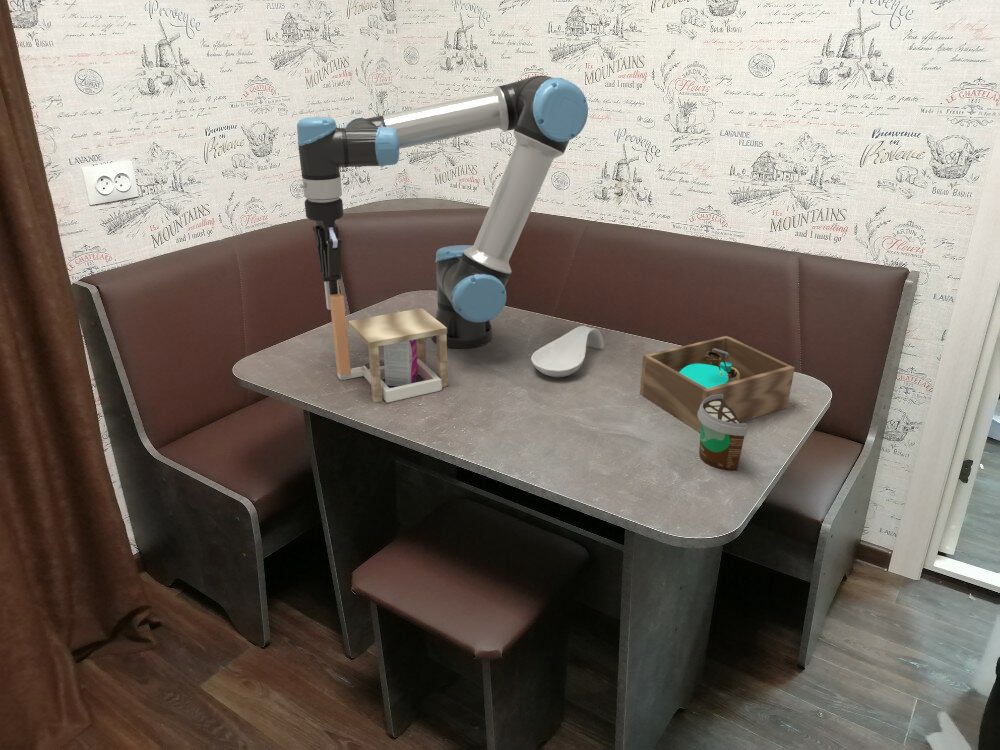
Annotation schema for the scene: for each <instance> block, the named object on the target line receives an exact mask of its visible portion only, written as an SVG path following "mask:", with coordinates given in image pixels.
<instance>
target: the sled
mask: <svg viewBox="0 0 1000 750" xmlns="http://www.w3.org/2000/svg"><path fill="white" fill-rule="evenodd" d="M339 293H340V294H333V295H329V297H330V306H331V310H330V315H331V324H332V334H333V342H334V343H333V344H334V354H335V356H334V357H335V363H336V364H335V365H336V373H337V378H339V380H340V381H345V380H350V379H354V378H359V377H364V379H366V380H367V382H368V383H369V384H370V385H371V376H370V369H368V368H367V367H366V366H365V365H362V366H358V367H353V368H351V360H350V350H349V348H350V347H349V339H348V338H349V336H348V327H347V326H348V325H347V316H346V306H345V296H344V295H343V294H342V293H341V292H339ZM417 375H420V377H422V379H423V380H422V381H417V382H416V381H415V383H412V384H407V385H403V386H398V387H394V388H389V387H388V386H387V385H386V384H385V381H384V380H385V366H381V367H380V376H381V390H382V400H384V401H385V402H386V403H391V402H396V401H401V400H404V399H405V400H406V399H409V398H413V397H417V396H422V395H427V394H430V393H435V392H441V391H442V390H443V387H442V383H441V379H440V378H439V377H438V374H436V373H435V372H434V371H433V370H432V369H430V367H428V366H427V364H426V365H425V364H424V363H423V362H422V361H421V360H420V359H417Z"/></svg>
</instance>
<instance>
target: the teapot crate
mask: <svg viewBox="0 0 1000 750" xmlns="http://www.w3.org/2000/svg"><path fill="white" fill-rule="evenodd" d="M713 348H716V349H719V350H722V351H725V352H728V353H729V358H728V359H726V358H725V357H726V355H724V354H721V353H719V354H720V355H721V356H722V359H721V360H723V361H725V362H728V363H731V364H732V367H733V368H735V369H737V370H738V372H739V373H740V380H736V381H733V382H729V383H725V384H722V385H718V386H714V387H711V388H706V387H704V386H702V385H700V384H698V383H697V382H695V381H693V380H691V379H690V378H688V377H686V376H684V375H683V374H681V373H679V372H680V371H681V370H682V369H683V368H684V367H686V366H688V365H691V364H707V365H710V362H711V361H709V360H707V359H706V358H705V354H706V352H707V351H712V349H713ZM717 353H718V352H717ZM709 356H710V357H711V354H709ZM714 359H718V357H716V356H714ZM723 361H722V362H723ZM720 363H721V362H720ZM713 366H717V367H719V366H718V363H713ZM795 368H796V367H795V366H792V365H790V364H788V363H786V362H784V361H782V360H780V359H777V358H776V357H773V356H771V355H769V354H767V353H765V352H762V351H760V350H759V349H756V348H754V347H752V346H750V345H747V344H745V343H743V342H741V341H739V340H737V339H735V338H733V337H731V336H729V335H723V336H719V337H716V338H711V339H707V340H702V341H699V342H695V343H691V344H687V345H682V346H677V347H673V348H669V349H664V350H661V351H657V352H652V353H647V354H644V355H642V363H641V376H640V377H641V378H640V386H639V387H640V389H639V396H641V397H643V398H644V399H646V400H648V401H649V402H651V403H652V404H654V405H656V406H657V407H659V408H661V410H663V411H665V412H667V413H668V414H670V415H672V416H673V417H675V418H676V419H677V420H679V421H680V422H682V423H684V424H685V425H687V426H689V427H690V428H692V429H693V430H695V431H696V432H698V433H699V434H700V426H701V421H700V420H699V419H698V416H697V414H698V410H699V408H700V405H701V404H702V403H703V401H704V400H705V399H706V398H708V397H710V396H713V395H718V394H723V400H724V402H725V403H726V404H727V406H728V407H730V408H731V409H732V410H733V411H734V413H735V414H736V416H737V418H738V420H739V421H740V422H741V423H742V422H744V421H748V420H750V419H753V418H757V417H761V416H764V415H766V414H770V413H773V412H777V411H779V410H783V409H787V408H788V406H789V401H790V400H789V399H790V394H791V390H792V385H793V384H792V383H793V381H794V380H793V379H794V374H795Z"/></svg>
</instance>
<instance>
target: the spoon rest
mask: <svg viewBox="0 0 1000 750" xmlns="http://www.w3.org/2000/svg"><path fill="white" fill-rule="evenodd" d="M587 346H588V347H590V348H593V349H597V350H603V349H604V348H605V343H604V337H603V335H602V333H601V332H600V330H599V329H598V328H594V327H588V326H586V325H579V326H577V327H575V328H573V329H572V330H570V331H569V332H567V333H565V334H563V335H562V336H560V337H559V338H557V339H555V340H553V341H551V342H549V343H547V344H545V345H543V346H541V347H540V348H538V349H536V351H534V352H533V353H532V355H531V357H530V359H531V364H532V365H533V367H534V368H535V369H536V370H537V371H539V372H540V373H542V374H543V375H545V376H548V377H553V378H563V377H567V376H570V375H572V374H574V373H575V372H577V371H578V370H579V369H580V368H581V366H582V365H583V362H584V361H585V357H586V353H587V352H586V351H587Z"/></svg>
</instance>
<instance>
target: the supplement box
mask: <svg viewBox="0 0 1000 750" xmlns="http://www.w3.org/2000/svg"><path fill="white" fill-rule="evenodd" d="M383 362H384V365H385V379H384V383H385V384H386V385H387V386H388V387H389V388H394V387H398V386H403V385H407V384H412V383H416V381H418V373H417V342H416V339H415V340H409V341H404V342H399V343H394V344H389V345H384V346H383Z"/></svg>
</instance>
